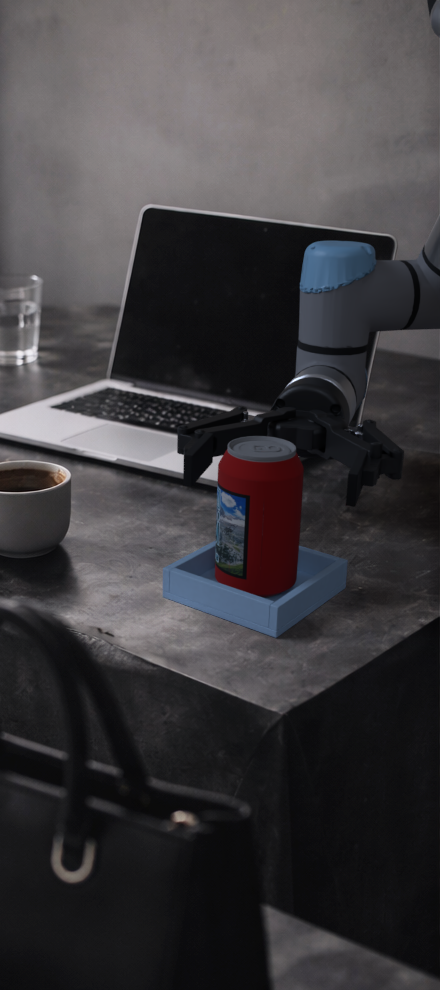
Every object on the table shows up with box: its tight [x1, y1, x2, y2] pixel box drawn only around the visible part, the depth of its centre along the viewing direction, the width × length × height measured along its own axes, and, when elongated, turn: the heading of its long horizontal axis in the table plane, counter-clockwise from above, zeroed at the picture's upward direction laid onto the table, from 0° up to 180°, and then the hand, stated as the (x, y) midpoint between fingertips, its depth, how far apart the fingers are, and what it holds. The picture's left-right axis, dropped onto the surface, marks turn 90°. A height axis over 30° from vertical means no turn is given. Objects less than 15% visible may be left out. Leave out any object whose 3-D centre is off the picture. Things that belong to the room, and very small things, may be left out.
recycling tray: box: [162, 539, 349, 639], centre depth 80 cm, size 11×11×3 cm
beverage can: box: [215, 436, 305, 598], centre depth 78 cm, size 7×7×12 cm
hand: (267, 480), depth 79 cm, fingers open, 13 cm apart
